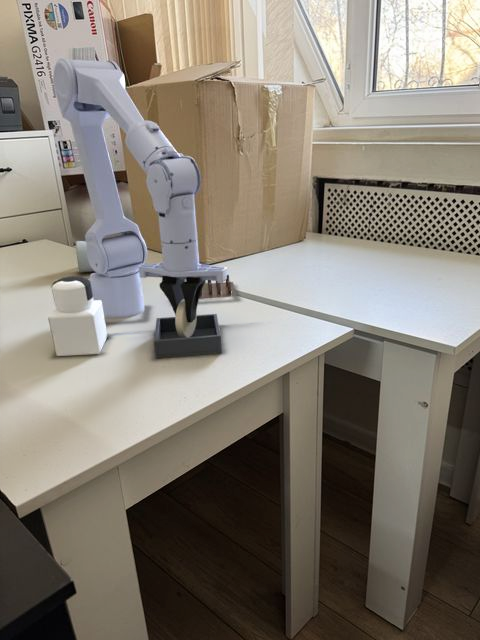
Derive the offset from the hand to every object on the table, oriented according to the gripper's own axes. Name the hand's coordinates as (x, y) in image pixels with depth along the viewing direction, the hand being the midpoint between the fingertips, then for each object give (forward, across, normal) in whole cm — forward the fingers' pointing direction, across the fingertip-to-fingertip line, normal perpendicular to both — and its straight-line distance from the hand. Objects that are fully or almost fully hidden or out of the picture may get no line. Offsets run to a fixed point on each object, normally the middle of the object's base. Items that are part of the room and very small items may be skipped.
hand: (186, 320), depth 86 cm
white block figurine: (+4, +17, +5) cm, 19 cm away
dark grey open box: (+4, 0, 0) cm, 4 cm away
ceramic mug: (+1, +41, -38) cm, 56 cm away
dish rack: (+4, +6, -25) cm, 26 cm away
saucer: (+3, 0, 0) cm, 3 cm away
